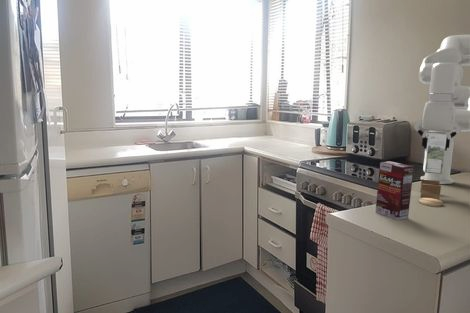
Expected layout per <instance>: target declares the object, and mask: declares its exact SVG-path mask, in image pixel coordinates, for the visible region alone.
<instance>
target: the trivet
mask: <svg viewBox="0 0 470 313" xmlns="http://www.w3.org/2000/svg"><path fill="white" fill-rule="evenodd" d="M418 202H419V204H421V205H423V204H424V206H429V207H442V206H443V201H442V200H440V199H439V200H437V199H432V198H421V197H420V198H419V200H418Z"/></svg>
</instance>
